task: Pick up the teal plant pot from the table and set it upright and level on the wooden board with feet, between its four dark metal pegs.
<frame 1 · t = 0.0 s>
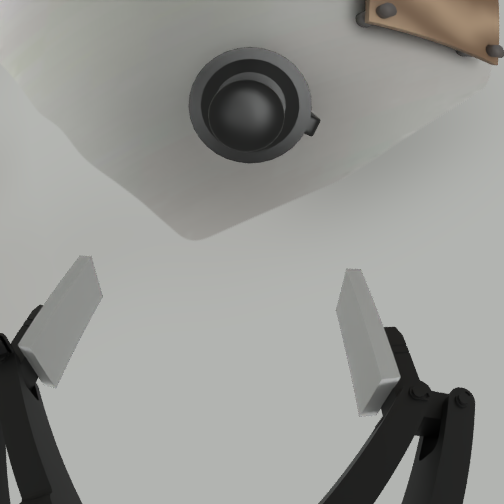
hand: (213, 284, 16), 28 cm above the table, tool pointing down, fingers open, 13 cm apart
french press: (258, 93, 36), on the table
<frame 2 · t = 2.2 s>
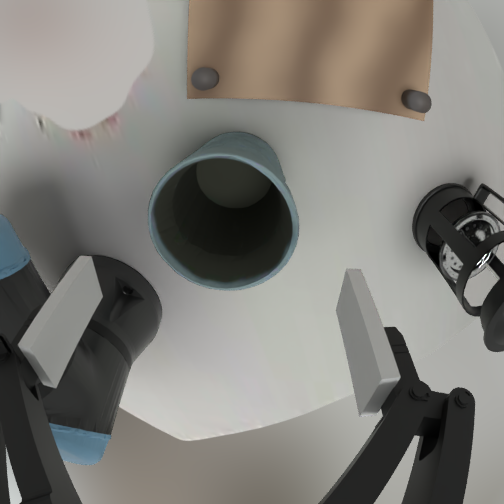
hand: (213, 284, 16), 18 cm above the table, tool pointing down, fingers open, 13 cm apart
french press: (447, 215, 33), on the table
teal plant pot: (234, 172, 31), on the table
wooden board with feet: (306, 6, 22), on the table
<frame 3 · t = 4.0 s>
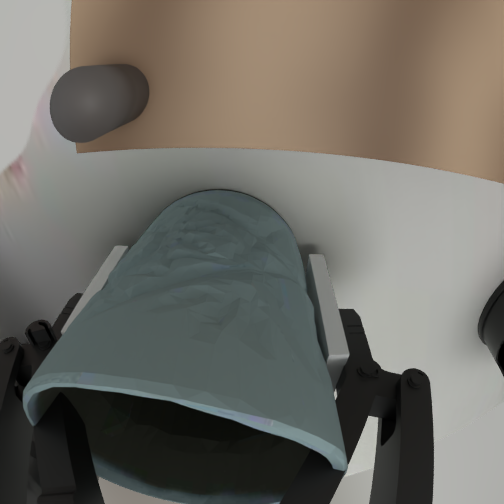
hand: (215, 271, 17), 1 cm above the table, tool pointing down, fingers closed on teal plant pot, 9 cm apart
teal plant pot: (216, 257, 18), on the table, touching gripper
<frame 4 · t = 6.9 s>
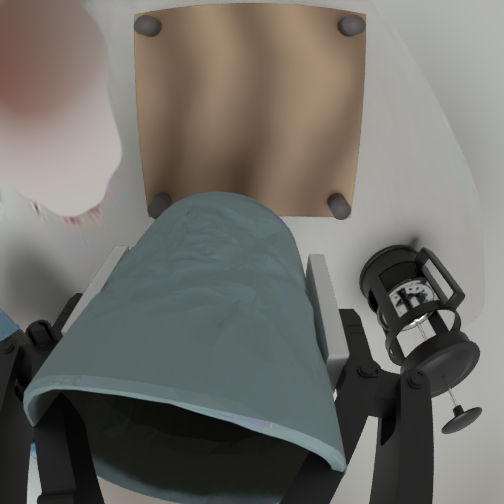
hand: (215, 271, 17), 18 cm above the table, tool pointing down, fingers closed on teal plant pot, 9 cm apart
french press: (393, 271, 39), on the table
teal plant pot: (216, 258, 18), point 17 cm above the table, touching gripper
wooden board with feet: (250, 103, 29), on the table
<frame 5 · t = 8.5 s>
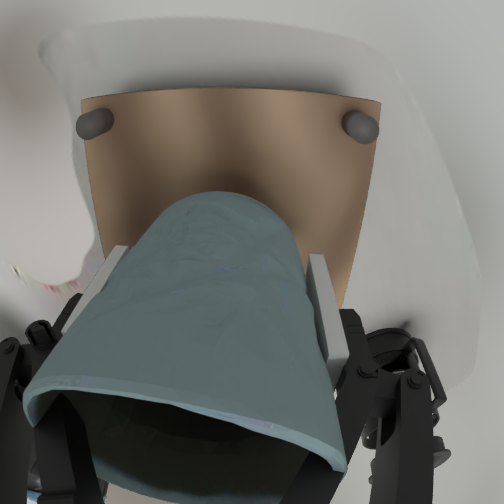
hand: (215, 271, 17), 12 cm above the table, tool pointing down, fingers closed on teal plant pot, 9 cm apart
french press: (381, 349, 37), on the table
teal plant pot: (216, 258, 18), point 10 cm above the table, touching gripper
wooden board with feet: (231, 191, 27), on the table
when the fingers open (10 cm above the table, at t = 9.8 s): teal plant pot drops 1 cm, resting on wooden board with feet.
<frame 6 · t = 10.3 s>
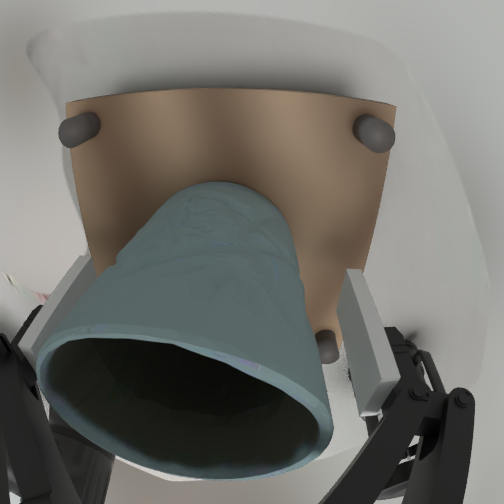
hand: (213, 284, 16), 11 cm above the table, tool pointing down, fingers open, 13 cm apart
french press: (386, 360, 36), on the table
teal plant pot: (216, 245, 19), point 7 cm above the table, touching wooden board with feet
wooden board with feet: (231, 199, 25), on the table
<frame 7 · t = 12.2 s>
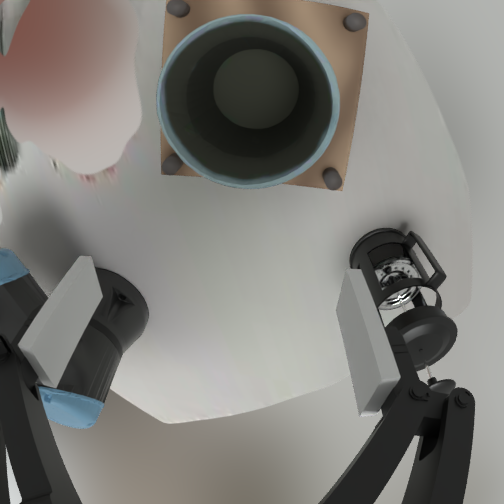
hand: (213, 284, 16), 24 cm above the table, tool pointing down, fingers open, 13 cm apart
french press: (382, 253, 42), on the table
teal plant pot: (255, 88, 26), point 7 cm above the table, touching wooden board with feet
wooden board with feet: (261, 84, 31), on the table
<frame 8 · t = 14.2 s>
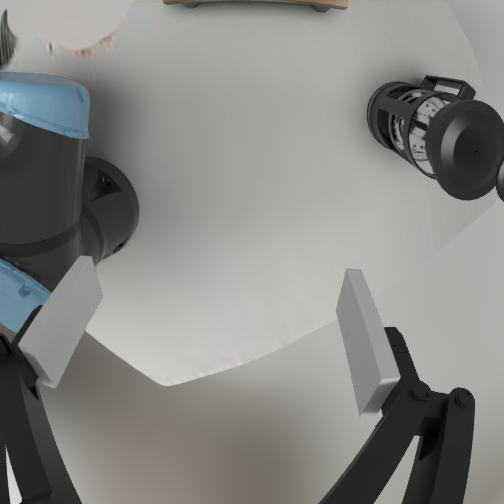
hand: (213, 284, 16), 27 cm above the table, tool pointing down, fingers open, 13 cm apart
french press: (401, 113, 35), on the table
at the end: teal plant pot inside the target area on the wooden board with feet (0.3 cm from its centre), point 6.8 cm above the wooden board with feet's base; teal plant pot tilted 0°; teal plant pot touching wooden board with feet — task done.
